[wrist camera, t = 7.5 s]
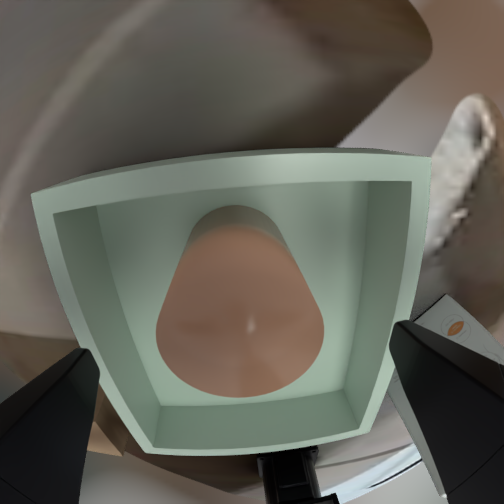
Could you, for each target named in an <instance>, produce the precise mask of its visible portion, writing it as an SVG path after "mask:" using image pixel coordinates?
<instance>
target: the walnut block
mask: <svg viewBox="0 0 504 504" xmlns="http://www.w3.org/2000/svg"><path fill="white" fill-rule="evenodd" d="M128 434H129V430H128V428H127V427H126V425H125V424H124V422H123V421H122V419H121V418H120V416H119V415H118V413H117V412H116V410H115V408H114V407H113V405H112V404H111V402H110V400H109V399H108V397H107V395H106V394H105V392H104V390H103V389H102V387H101V385H100V383H99V386H98V392H97V399H96V406H95V413H94V419H93V424H92V428H91V433H90V437H89V442H88V447H87V450H90V451H94V452H100V453H106V454H111V455H117V456H123V455H124V451H125V446H126V442H127V438H128Z"/></svg>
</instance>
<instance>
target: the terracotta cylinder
mask: <svg viewBox="0 0 504 504" xmlns="http://www.w3.org/2000/svg"><path fill="white" fill-rule="evenodd" d="M323 339H324V322H323V317H322V314H321V312H320V309H319V307H318V305H317V303H316V301H315V299H314V297H313V295H312V293H311V291H310V289H309V287H308V285H307V283H306V281H305V279H304V277H303V275H302V273H301V271H300V269H299V267H298V265H297V263H296V261H295V259H294V257H293V255H292V253H291V251H290V249H289V247H288V245H287V243H286V242H285V240H284V238H283V236H282V234H281V232H280V230H279V228H278V227H277V225H276V224H275V223H274V222H273V221H272V220H271V219H270V218H269V217H268V216H267V215H266V214H264V213H263V212H261V211H259V210H257V209H254V208H252V207H247V206H241V205H230V206H224V207H220V208H217V209H215V210H213V211H211V212H209V213H208V214H206V215H205V216H203V217H202V218H201V219H200V220H199V221H198V222H197V223H196V225H195V226H194V227H193V229H192V231H191V233H190V235H189V237H188V240H187V242H186V245H185V247H184V250H183V252H182V255H181V257H180V260H179V262H178V265H177V268H176V270H175V273H174V275H173V278H172V281H171V283H170V286H169V289H168V291H167V294H166V297H165V300H164V302H163V305H162V308H161V311H160V314H159V317H158V320H157V324H156V343H157V347H158V350H159V353H160V355H161V357H162V359H163V361H164V362H165V364H166V365H167V366H168V368H169V369H170V370H171V371H172V372H173V373H174V374H175V375H176V376H177V377H178V378H179V379H181V380H182V381H183V382H185V383H186V384H188V385H190V386H192V387H194V388H196V389H198V390H200V391H203V392H206V393H209V394H212V395H217V396H222V397H232V398H245V397H254V396H260V395H264V394H268V393H271V392H274V391H277V390H279V389H281V388H283V387H285V386H287V385H289V384H291V383H292V382H294V381H295V380H297V379H298V378H299V377H300V376H302V375H303V374H304V373H305V372H306V371H307V370H308V369H309V368H310V367H311V365H312V364H313V363H314V361H315V360H316V358H317V356H318V354H319V352H320V350H321V347H322V344H323Z"/></svg>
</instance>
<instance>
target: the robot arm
mask: <svg viewBox="0 0 504 504" xmlns="http://www.w3.org/2000/svg"><path fill="white" fill-rule="evenodd" d="M389 350H390V353H391V356H392V359H393V362H394V364H395V367H396V370H397V373H398V376H399V379H400V382H401V385H402V387H403V390H404V392H405V395H406V397H407V399H408V401H409V404H410V406H411V408H412V410H413V413H414V415H415V417H416V419H417V422H418V424H419V426H420V429H421V431H422V433H423V436H424V438H425V441H426V443H427V445H428V448H429V450H430V453H431V455H432V458H433V461H434V463H435V466H436V468H437V471H438V474H439V477H440V479H441V482H442V485H443V488H444V491H445V494H446V497H447V500H448V503H449V504H504V365H502V364H499V363H498V362H496V361H494V360H492V359H490V358H488V357H485V356H483V355H481V354H479V353H477V352H475V351H473V350H471V349H469V348H467V347H465V346H462V345H460V344H458V343H456V342H454V341H452V340H450V339H448V338H446V337H443V336H441V335H439V334H437V333H435V332H433V331H431V330H429V329H427V328H424V327H422V326H420V325H418V324H416V323H414V322H412V321H410V320H401V321H397V322H395V324H394V326H393V329H392V333H391V337H390V341H389ZM99 379H100V369H99V367H98V365H97V363H96V361H95V359H94V357H93V355H92V352H91V351H90V350H89V349H87V348H76V349H75V350H73V351H72V352H70V353H69V354H68V355H66V356H65V357H63V358H62V359H61V360H59V361H58V362H56V363H55V364H54V365H52V366H51V367H50V368H48V369H47V370H45V371H44V372H43V373H41V374H40V375H39V376H37V377H36V378H34V379H33V380H32V381H30V382H29V383H28V384H26V385H25V386H24V387H22V388H21V389H20V390H18V391H17V392H15V393H14V394H13V395H11V396H10V397H9V398H7V399H6V400H5V401H3V402H2V403H1V404H0V504H79V496H80V489H81V482H82V475H83V469H84V463H85V458H86V452H87V447H88V442H89V437H90V433H91V428H92V424H93V419H94V413H95V406H96V399H97V392H98V386H99ZM318 451H319V450H318V447H316V446H315V447H309V448H304V449H298V450H291V451H284V452H276V453H268V454H259V455H257V463H258V470H259V477H261V478H263V482H264V491H265V499H266V504H339V501H338V498H337V495H336V493H333V494H330V495H328V496H324V497H321V493H320V489H319V484H318V480H317V476H316V472H315V468H314V466H315V463H316V459H317V455H318Z"/></svg>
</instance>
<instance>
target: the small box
mask: <svg viewBox="0 0 504 504" xmlns="http://www.w3.org/2000/svg"><path fill="white" fill-rule="evenodd" d="M414 323H416V324H418V325H420V326H422V327H424V328H427V329H429V330H431V331H433V332H435V333H437V334H439V335H441V336H443V337H446V338H448V339H450V340H452V341H454V342H456V343H458V344H460V345H462V346H465V347H467V348H469V349H471V350H473V351H475V352H477V353H479V354H481V355H483V356H485V357H488V358H490V359H492V360H494V361H496V362H498V363H499V364H502V365H504V347H503V346H502V345H501V344H500V343H499V342H498V341H497V340H496V339H495V338H494V337H493V336H492V335H491V334H490V333H489V332H488V331H487V330H486V329H485V328H484V327H483V326H482V325H481V324H480V323H479V322H478V321H477V320H476V319H475V318H473V317H472V316H471V315H470V314H469V313H468V312H467V311H466V310H465V309H464V308H463V307H461V306H460V305H459V304H458V303H457V302H456V301H455V300H454V299H452V298H451V297H450V296H449V295H447V294H446V295H445V296H444V297H443V298H442V299H440V300H439V301H438V302H437V303H436V304H435V305H434V306H433V307H431V308H430V309H429V310H428V311H427V312H426V313H424V314H423V315H422V316H421V317H420V318H418V319H417V320H416V321H415V322H414ZM387 392H388V394H389V396H390V398H391V400H392V402H393V403H394V405H395V407H396V409H397V411H398V413H399V414H400V416H401V418H402V420H403V422H404V424H405V426H406V428H407V430H408V432H409V433H410V435H411V437H412V439H413V441H414V443H415V445H416V447H417V449H418V451H419V453H420V455H421V457H422V459H423V461H424V463H425V465H426V468H427V470H428V472H429V474H430V476H431V478H432V480H433V482H434V485H435V487H436V489H437V491H438V494H439V496H442V497H445V498H447V497H446V494H445V491H444V488H443V485H442V482H441V479H440V477H439V474H438V471H437V468H436V466H435V463H434V461H433V458H432V455H431V453H430V450H429V448H428V445H427V443H426V441H425V438H424V436H423V433H422V431H421V429H420V426H419V424H418V422H417V419H416V417H415V415H414V413H413V410H412V408H411V406H410V404H409V401H408V399H407V397H406V395H405V392H404V390H403V387H402V385H401V382H400V379H399V376H398V373H397V370H396V367H395V368H394V371H393V374H392V377H391V380H390V382H389V385H388V388H387Z"/></svg>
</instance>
